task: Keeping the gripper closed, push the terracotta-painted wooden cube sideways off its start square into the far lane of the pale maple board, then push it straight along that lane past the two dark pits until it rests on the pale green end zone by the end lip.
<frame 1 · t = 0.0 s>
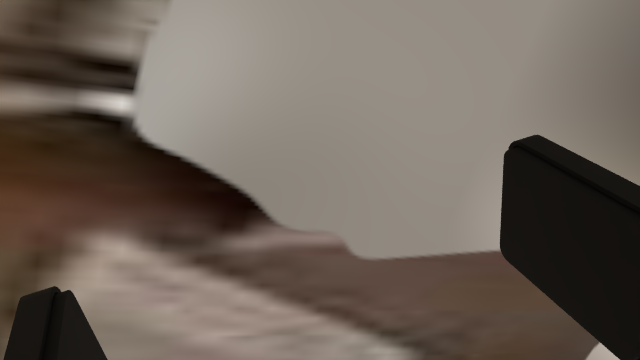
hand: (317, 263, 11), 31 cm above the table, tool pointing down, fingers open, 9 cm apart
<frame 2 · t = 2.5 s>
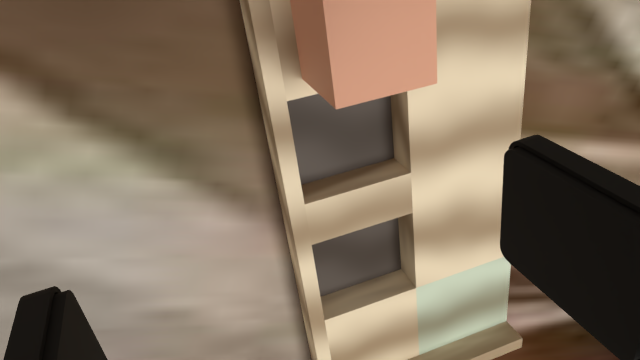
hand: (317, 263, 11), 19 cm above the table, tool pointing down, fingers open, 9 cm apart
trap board: (394, 176, 34), on the table
block: (341, 20, 25), point 2 cm above the table, touching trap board
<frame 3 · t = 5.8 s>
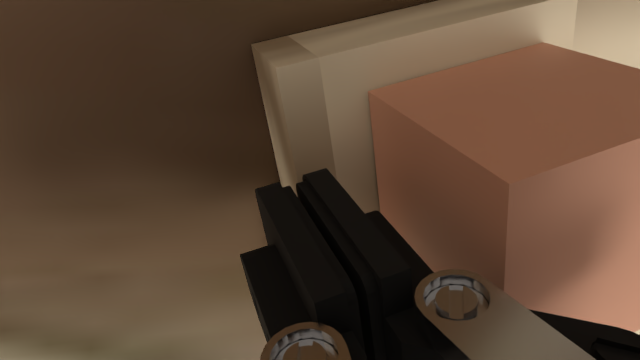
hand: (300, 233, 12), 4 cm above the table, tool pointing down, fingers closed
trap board: (497, 339, 22), on the table
block: (460, 154, 14), point 3 cm above the table, touching gripper, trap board
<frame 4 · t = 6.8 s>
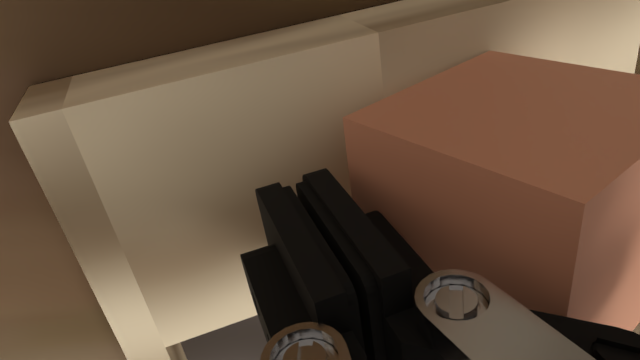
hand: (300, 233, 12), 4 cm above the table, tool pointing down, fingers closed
block: (426, 174, 13), point 3 cm above the table, tilted 20°, touching gripper, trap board
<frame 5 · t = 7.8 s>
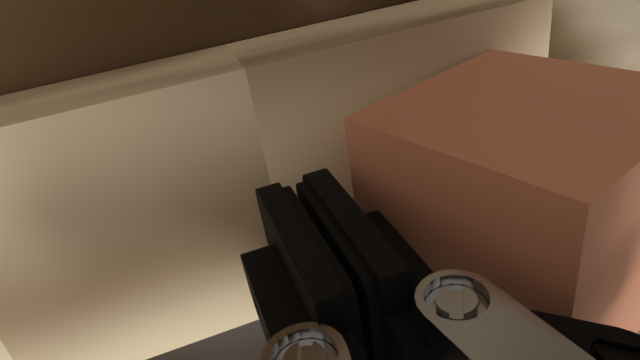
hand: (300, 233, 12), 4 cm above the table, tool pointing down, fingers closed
block: (428, 174, 13), point 3 cm above the table, tilted 19°, touching gripper
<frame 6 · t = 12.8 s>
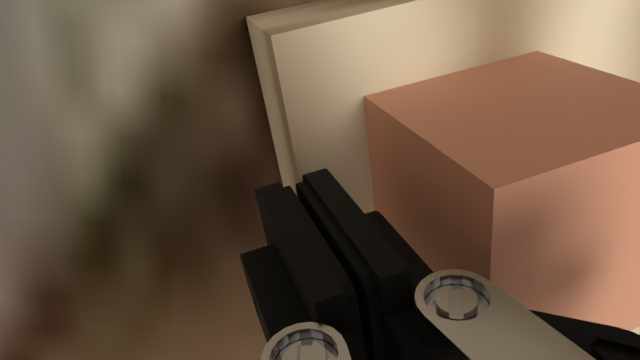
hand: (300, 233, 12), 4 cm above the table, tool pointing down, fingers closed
block: (454, 159, 14), point 2 cm above the table, touching gripper, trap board
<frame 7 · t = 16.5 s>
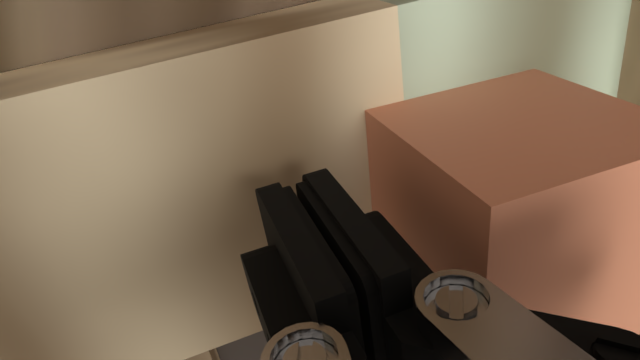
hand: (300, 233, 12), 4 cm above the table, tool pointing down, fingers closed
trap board: (149, 311, 16), on the table
block: (451, 172, 14), point 3 cm above the table, touching gripper, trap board
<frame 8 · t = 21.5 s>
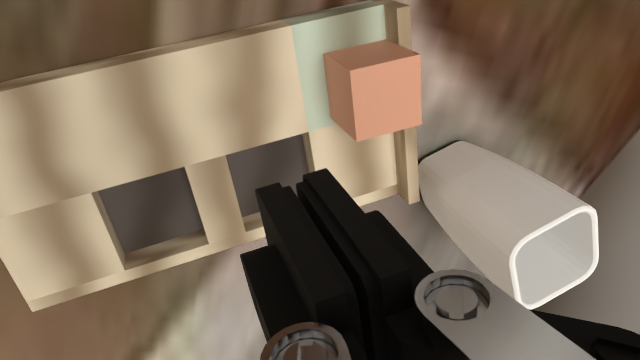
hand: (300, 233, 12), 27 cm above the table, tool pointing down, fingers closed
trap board: (200, 147, 38), on the table
cup: (441, 171, 48), on the table
block: (358, 79, 38), point 2 cm above the table, touching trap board
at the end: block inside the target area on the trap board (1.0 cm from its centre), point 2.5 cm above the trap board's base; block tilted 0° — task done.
